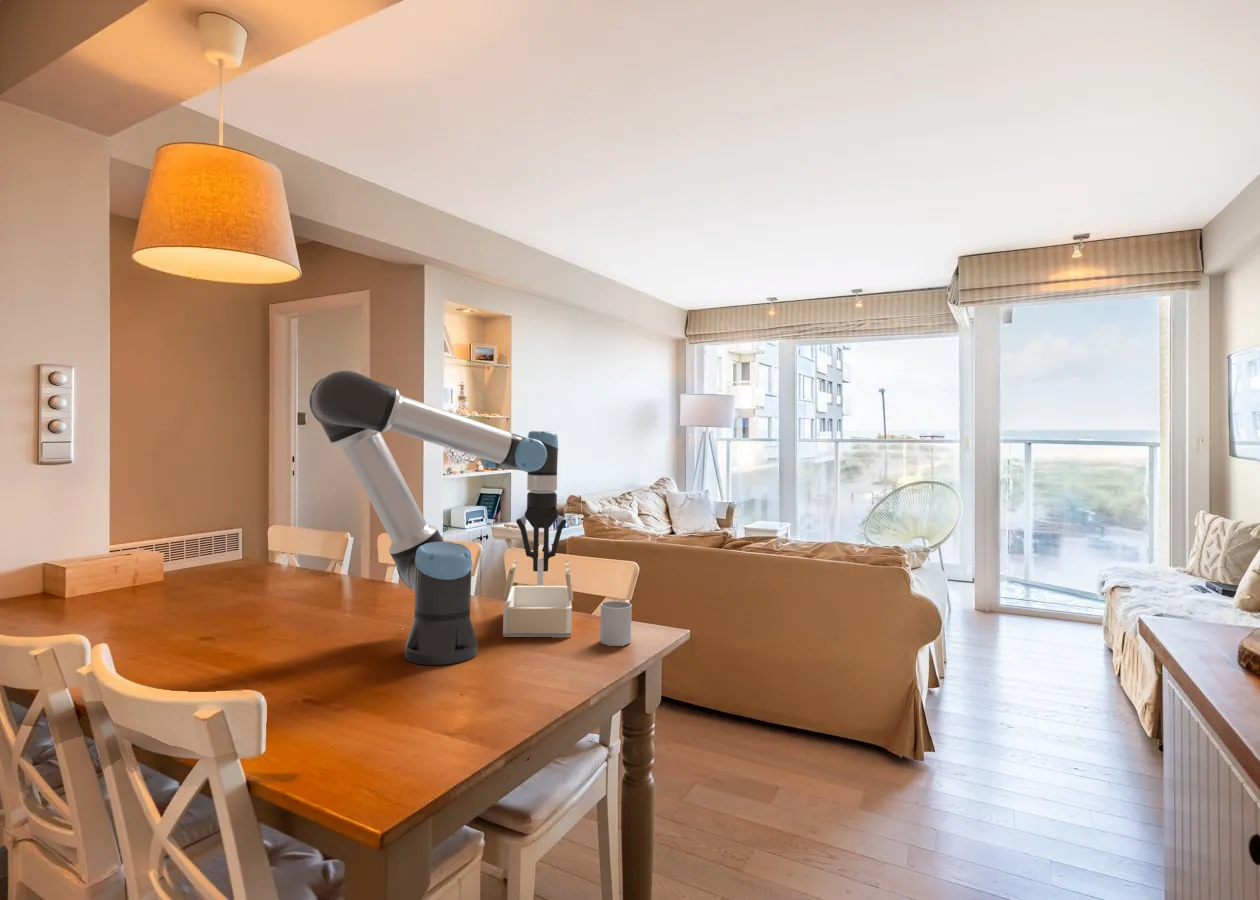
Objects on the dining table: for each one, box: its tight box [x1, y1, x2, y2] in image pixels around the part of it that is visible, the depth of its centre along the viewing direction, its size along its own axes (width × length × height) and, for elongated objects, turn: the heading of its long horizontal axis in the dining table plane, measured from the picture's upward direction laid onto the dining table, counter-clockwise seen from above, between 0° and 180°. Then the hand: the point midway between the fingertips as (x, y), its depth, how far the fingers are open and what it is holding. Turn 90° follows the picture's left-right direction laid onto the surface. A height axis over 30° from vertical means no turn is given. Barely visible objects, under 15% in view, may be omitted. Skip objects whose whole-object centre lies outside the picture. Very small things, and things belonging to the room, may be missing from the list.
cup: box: [599, 600, 633, 647], centre depth 156 cm, size 7×10×9 cm
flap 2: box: [564, 560, 574, 602], centre depth 169 cm, size 19×6×1 cm
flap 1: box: [502, 559, 518, 602], centre depth 168 cm, size 19×6×1 cm
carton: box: [502, 585, 573, 638], centre depth 168 cm, size 25×16×7 cm, turn 6°
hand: (540, 583), depth 168 cm, fingers closed
